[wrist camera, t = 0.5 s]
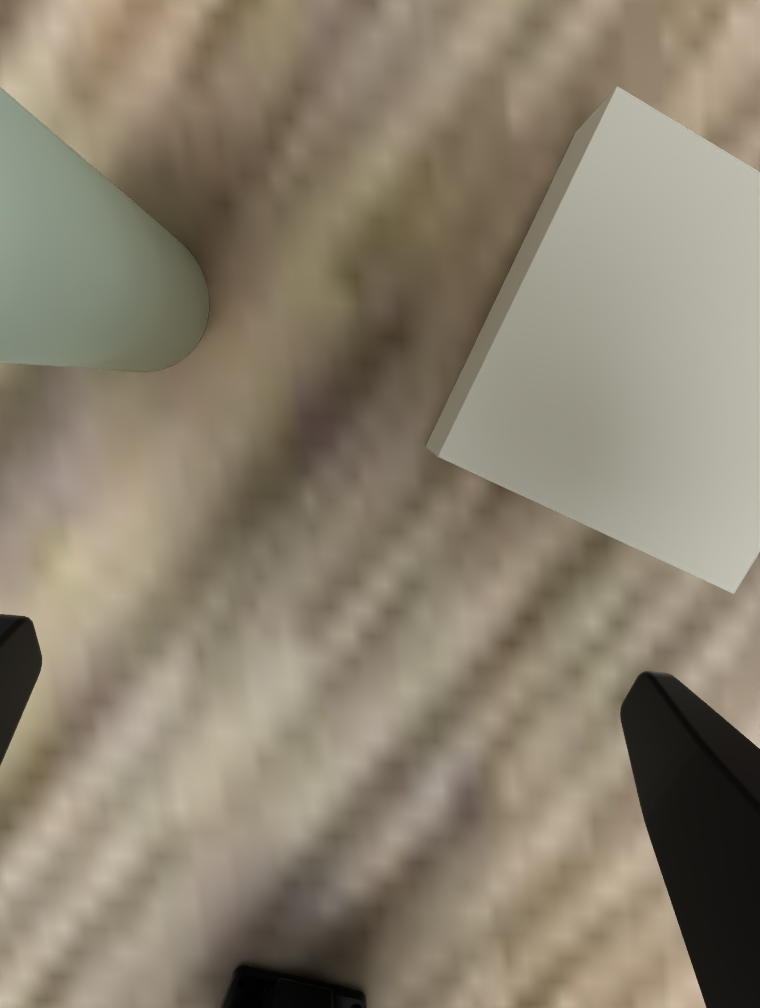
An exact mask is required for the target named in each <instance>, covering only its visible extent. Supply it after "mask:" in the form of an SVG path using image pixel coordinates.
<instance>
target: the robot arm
mask: <svg viewBox="0 0 760 1008" xmlns="http://www.w3.org/2000/svg"><path fill="white" fill-rule="evenodd" d="M41 667H42V654H41V650H40V647H39V643H38V639H37V636H36V632H35V628H34V625H33V622H32V621H31V620H30V619H29V618H28V617H25V616H16V615H5V614H0V765H1V763H2V761H3V759H4V756H5V754H6V752H7V749H8V747H9V744H10V742H11V740H12V737H13V735H14V733H15V730H16V728H17V726H18V723H19V721H20V719H21V716H22V714H23V711H24V709H25V707H26V704H27V702H28V700H29V697H30V695H31V693H32V690H33V688H34V686H35V683H36V681H37V679H38V676H39V674H40V671H41ZM620 716H621V723H622V727H623V732H624V736H625V740H626V745H627V749H628V754H629V758H630V762H631V767H632V771H633V775H634V780H635V784H636V788H637V793H638V797H639V801H640V805H641V809H642V813H643V817H644V821H645V824H646V827H647V830H648V834H649V837H650V840H651V843H652V846H653V849H654V852H655V855H656V858H657V861H658V864H659V867H660V870H661V873H662V876H663V879H664V882H665V885H666V888H667V891H668V894H669V897H670V900H671V903H672V906H673V909H674V912H675V915H676V918H677V921H678V924H679V927H680V930H681V933H682V936H683V939H684V942H685V945H686V948H687V951H688V954H689V957H690V960H691V963H692V966H693V969H694V972H695V975H696V978H697V981H698V984H699V987H700V990H701V993H702V996H703V999H704V1002H705V1005H706V1008H760V749H759V748H758V747H757V746H756V745H754V744H753V743H752V742H751V741H750V740H749V739H747V738H746V737H745V736H744V735H743V734H741V733H740V732H739V731H738V730H737V729H736V728H734V727H733V726H732V725H731V724H730V723H729V722H727V721H726V720H725V719H724V718H723V717H721V716H720V715H719V714H718V713H717V712H716V711H714V710H713V709H712V708H711V707H710V706H708V705H707V704H706V703H705V702H704V701H703V700H701V699H700V698H699V697H698V696H697V695H695V694H694V693H693V692H692V691H691V690H690V689H688V688H687V687H686V686H685V685H684V684H683V683H681V682H680V681H679V680H678V679H677V678H675V677H674V676H673V675H671V674H668V673H663V672H651V671H644V672H642V673H641V674H639V676H638V677H637V679H636V680H635V682H634V684H633V686H632V687H631V689H630V691H629V693H628V694H627V696H626V698H625V699H624V701H623V703H622V706H621V712H620ZM366 1007H367V1006H366V995H365V994H364V993H363V992H361V991H358V990H354V989H349V988H345V987H340V986H336V985H331V984H327V983H322V982H318V981H313V980H309V979H304V978H300V977H295V976H291V975H286V974H282V973H277V972H273V971H268V970H264V969H259V968H255V967H250V966H240V967H238V968H237V969H236V970H235V971H234V973H233V976H232V978H231V981H230V984H229V986H228V989H227V992H226V994H225V997H224V999H223V1002H222V1005H221V1007H220V1008H366Z"/></svg>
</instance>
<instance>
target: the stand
mask: <svg viewBox="0 0 760 1008" xmlns="http://www.w3.org/2000/svg"><path fill="white" fill-rule="evenodd" d="M425 447H426V448H427V449H429V450H430V451H431V452H432V453H434V454H435V455H436V456H438V457H439V458H442V459H444V460H446V461H448V462H450V463H452V464H455V465H457V466H459V467H461V468H463V469H465V470H467V471H470V472H472V473H474V474H476V475H478V476H480V477H483V478H485V479H487V480H489V481H491V482H493V483H496V484H498V485H500V486H502V487H504V488H506V489H508V490H511V491H513V492H515V493H517V494H519V495H521V496H524V497H526V498H528V499H530V500H532V501H534V502H537V503H539V504H541V505H543V506H545V507H547V508H549V509H552V510H554V511H556V512H558V513H560V514H562V515H565V516H567V517H569V518H571V519H573V520H575V521H578V522H580V523H582V524H584V525H586V526H588V527H590V528H593V529H595V530H597V531H599V532H601V533H603V534H606V535H608V536H610V537H612V538H614V539H616V540H619V541H621V542H623V543H625V544H627V545H629V546H631V547H634V548H636V549H638V550H640V551H642V552H644V553H647V554H649V555H651V556H653V557H655V558H657V559H660V560H662V561H664V562H666V563H668V564H670V565H672V566H675V567H677V568H679V569H681V570H683V571H685V572H688V573H690V574H692V575H694V576H696V577H698V578H701V579H703V580H705V581H707V582H709V583H711V584H713V585H716V586H718V587H720V588H722V589H724V590H726V591H729V592H731V593H733V594H734V593H735V591H736V590H737V588H738V587H739V585H740V583H741V582H742V580H743V578H744V577H745V575H746V574H747V572H748V570H749V569H750V567H751V565H752V564H753V562H754V560H755V559H756V557H757V556H758V554H759V552H760V172H759V171H757V170H756V169H754V168H752V167H751V166H749V165H747V164H746V163H744V162H742V161H741V160H739V159H737V158H736V157H734V156H732V155H731V154H729V153H727V152H726V151H724V150H722V149H721V148H719V147H717V146H716V145H714V144H712V143H711V142H709V141H707V140H706V139H704V138H702V137H701V136H699V135H697V134H696V133H694V132H692V131H691V130H689V129H687V128H686V127H684V126H682V125H681V124H679V123H677V122H676V121H674V120H672V119H671V118H669V117H667V116H666V115H664V114H662V113H661V112H659V111H657V110H656V109H654V108H652V107H651V106H649V105H647V104H646V103H644V102H643V101H641V100H639V99H638V98H636V97H634V96H633V95H631V94H629V93H628V92H626V91H624V90H623V89H621V88H619V87H618V86H617V87H616V88H615V89H614V90H613V91H612V92H611V94H610V95H609V96H608V97H607V98H606V99H605V100H604V101H603V102H602V104H601V105H600V106H599V107H598V108H597V109H596V110H595V111H594V112H593V114H592V115H591V116H590V117H589V118H588V119H587V120H586V121H585V122H584V124H583V125H582V126H581V127H580V128H579V129H578V130H577V131H576V132H575V134H574V137H573V139H572V141H571V143H570V145H569V147H568V149H567V151H566V153H565V155H564V157H563V160H562V162H561V164H560V166H559V168H558V170H557V172H556V174H555V176H554V178H553V181H552V183H551V185H550V187H549V189H548V191H547V193H546V195H545V197H544V199H543V201H542V204H541V206H540V208H539V210H538V212H537V214H536V216H535V218H534V220H533V222H532V224H531V227H530V229H529V231H528V233H527V235H526V237H525V239H524V241H523V243H522V245H521V248H520V250H519V252H518V254H517V256H516V258H515V260H514V262H513V264H512V266H511V268H510V271H509V273H508V275H507V277H506V279H505V281H504V283H503V285H502V287H501V289H500V291H499V294H498V296H497V298H496V300H495V302H494V304H493V306H492V308H491V310H490V312H489V314H488V317H487V319H486V321H485V323H484V325H483V327H482V329H481V331H480V333H479V335H478V338H477V340H476V342H475V344H474V346H473V348H472V350H471V352H470V354H469V356H468V358H467V361H466V363H465V365H464V367H463V369H462V371H461V373H460V375H459V377H458V379H457V381H456V384H455V386H454V388H453V390H452V392H451V394H450V396H449V398H448V400H447V402H446V405H445V407H444V409H443V411H442V413H441V415H440V417H439V419H438V421H437V423H436V425H435V428H434V430H433V432H432V434H431V436H430V438H429V440H428V442H427V444H426V446H425Z"/></svg>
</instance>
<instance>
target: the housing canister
mask: <svg viewBox="0 0 760 1008" xmlns="http://www.w3.org/2000/svg"><path fill="white" fill-rule="evenodd" d="M208 316H209V294H208V288H207V284H206V281H205V277H204V275H203V273H202V270H201V268H200V266H199V264H198V263H197V261H196V259H195V258H194V257H193V255H192V254H191V253H190V251H189V250H188V249H187V248H186V247H185V246H184V245H183V244H182V243H181V242H180V241H179V240H177V239H176V238H175V237H174V236H173V235H172V234H171V233H169V232H168V231H167V230H166V229H165V228H164V227H162V226H161V225H160V224H159V223H158V222H157V221H155V220H154V219H153V218H152V217H151V216H150V215H148V214H147V213H146V212H145V211H144V210H143V209H141V208H140V207H139V206H138V205H137V204H136V203H134V202H133V201H132V200H131V199H130V198H129V197H128V196H126V195H125V194H124V193H123V192H122V191H121V190H119V189H118V188H117V187H116V186H115V185H114V184H112V183H111V182H110V181H109V180H108V179H107V178H105V177H104V176H103V175H102V174H101V173H100V172H98V171H97V170H96V169H95V168H94V167H93V166H92V165H90V164H89V163H88V162H87V161H86V160H85V159H83V158H82V157H81V156H80V155H79V154H78V153H76V152H75V151H74V150H73V149H72V148H71V147H69V146H68V145H67V144H66V143H65V142H64V141H62V140H61V139H60V138H59V137H58V136H57V135H56V134H54V133H53V132H52V131H51V130H50V129H49V128H47V127H46V126H45V125H44V124H43V123H42V122H40V121H39V120H38V119H37V118H36V117H35V116H33V115H32V114H31V113H30V112H29V111H28V110H26V109H25V108H24V107H23V106H22V105H21V104H20V103H18V102H17V101H16V100H15V99H14V98H13V97H11V96H10V95H9V94H8V93H7V92H6V91H4V90H3V89H2V88H1V87H0V362H1V363H16V364H31V365H46V366H61V367H76V368H91V369H106V370H121V371H136V372H150V371H157V370H161V369H165V368H167V367H170V366H172V365H174V364H176V363H178V362H179V361H181V360H182V359H184V358H185V357H186V356H187V355H188V354H189V353H190V352H191V351H192V350H193V349H194V348H195V347H196V345H197V344H198V342H199V341H200V339H201V337H202V335H203V333H204V330H205V328H206V325H207V320H208Z"/></svg>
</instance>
